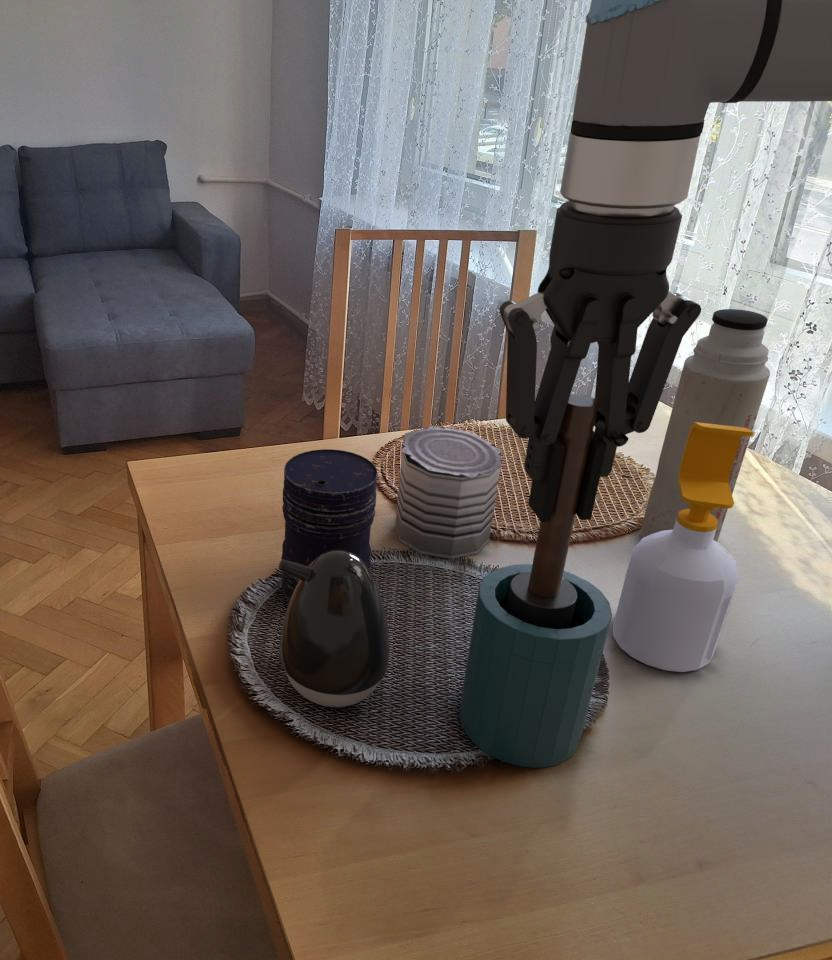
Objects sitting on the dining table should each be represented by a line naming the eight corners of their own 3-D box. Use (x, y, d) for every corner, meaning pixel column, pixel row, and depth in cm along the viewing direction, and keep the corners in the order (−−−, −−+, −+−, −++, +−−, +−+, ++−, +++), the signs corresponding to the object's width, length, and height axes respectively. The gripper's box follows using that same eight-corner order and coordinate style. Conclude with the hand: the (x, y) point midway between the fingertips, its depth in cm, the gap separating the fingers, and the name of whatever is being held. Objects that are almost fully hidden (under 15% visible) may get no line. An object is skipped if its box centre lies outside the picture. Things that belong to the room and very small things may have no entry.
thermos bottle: (725, 542, 102) (798, 313, 88) (697, 569, 97) (770, 332, 84) (657, 517, 107) (716, 298, 94) (627, 541, 103) (685, 314, 89)
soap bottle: (613, 662, 84) (672, 437, 72) (610, 608, 91) (664, 396, 80) (717, 683, 81) (797, 452, 69) (705, 626, 88) (776, 408, 77)
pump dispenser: (277, 649, 88) (279, 522, 80) (380, 653, 86) (392, 525, 79) (275, 721, 79) (278, 586, 71) (390, 727, 78) (405, 591, 70)
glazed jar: (552, 683, 82) (579, 561, 75) (599, 765, 73) (634, 636, 66) (445, 687, 82) (463, 566, 75) (480, 770, 73) (503, 642, 66)
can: (438, 500, 112) (448, 417, 107) (509, 538, 104) (525, 450, 98) (374, 528, 107) (381, 442, 101) (444, 570, 99) (456, 479, 93)
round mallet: (548, 634, 77) (600, 385, 65) (572, 673, 72) (633, 413, 60) (490, 636, 77) (532, 388, 65) (511, 676, 72) (559, 416, 60)
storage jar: (298, 554, 102) (301, 442, 95) (379, 573, 99) (389, 458, 91) (267, 600, 95) (268, 482, 87) (354, 623, 91) (363, 501, 84)
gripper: (705, 187, 59) (634, 484, 71) (483, 197, 59) (447, 492, 71) (772, 210, 53) (681, 533, 64) (522, 221, 53) (475, 542, 64)
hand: (559, 511), depth 67 cm, fingers closed on round mallet, 2 cm apart
